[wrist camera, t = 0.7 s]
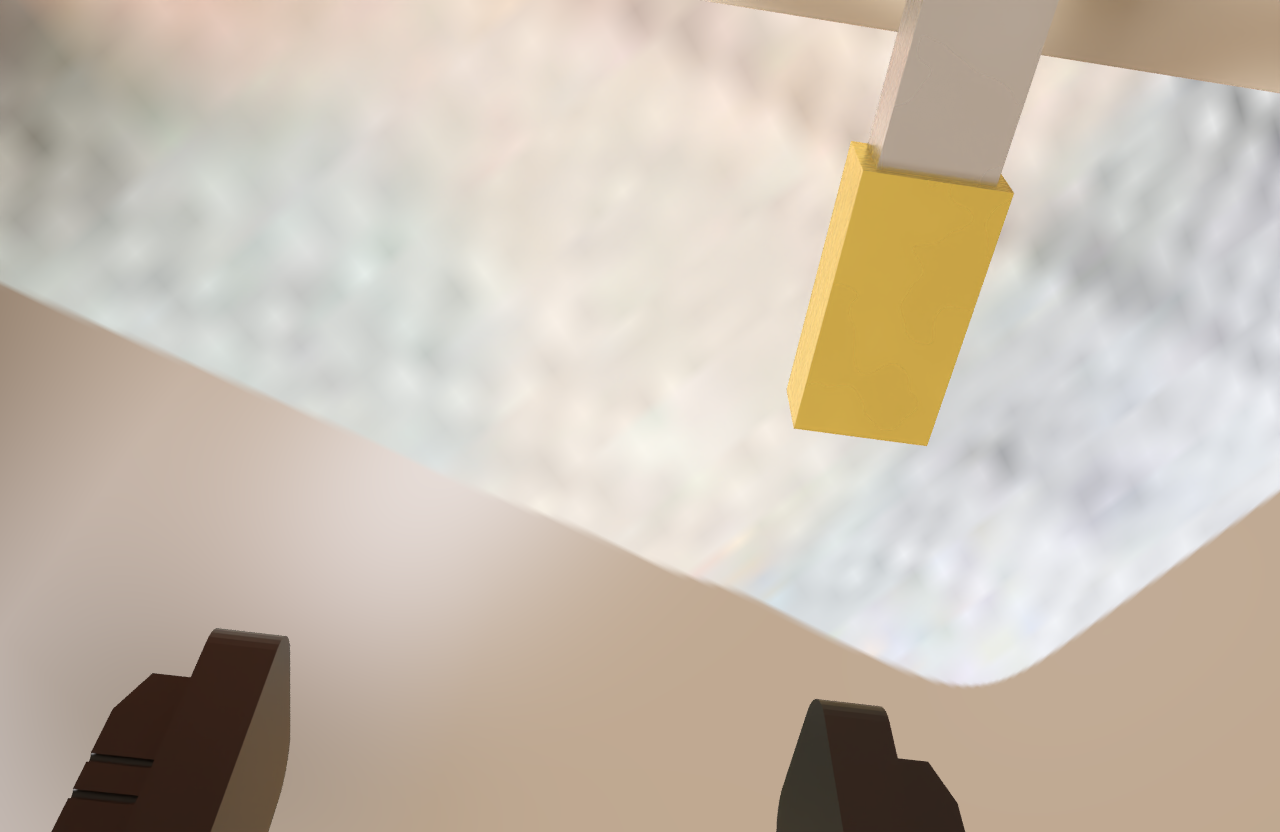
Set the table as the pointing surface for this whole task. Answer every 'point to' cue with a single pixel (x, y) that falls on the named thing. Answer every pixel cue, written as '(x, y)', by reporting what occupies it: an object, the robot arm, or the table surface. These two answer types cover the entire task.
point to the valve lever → (916, 221)
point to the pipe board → (1119, 33)
